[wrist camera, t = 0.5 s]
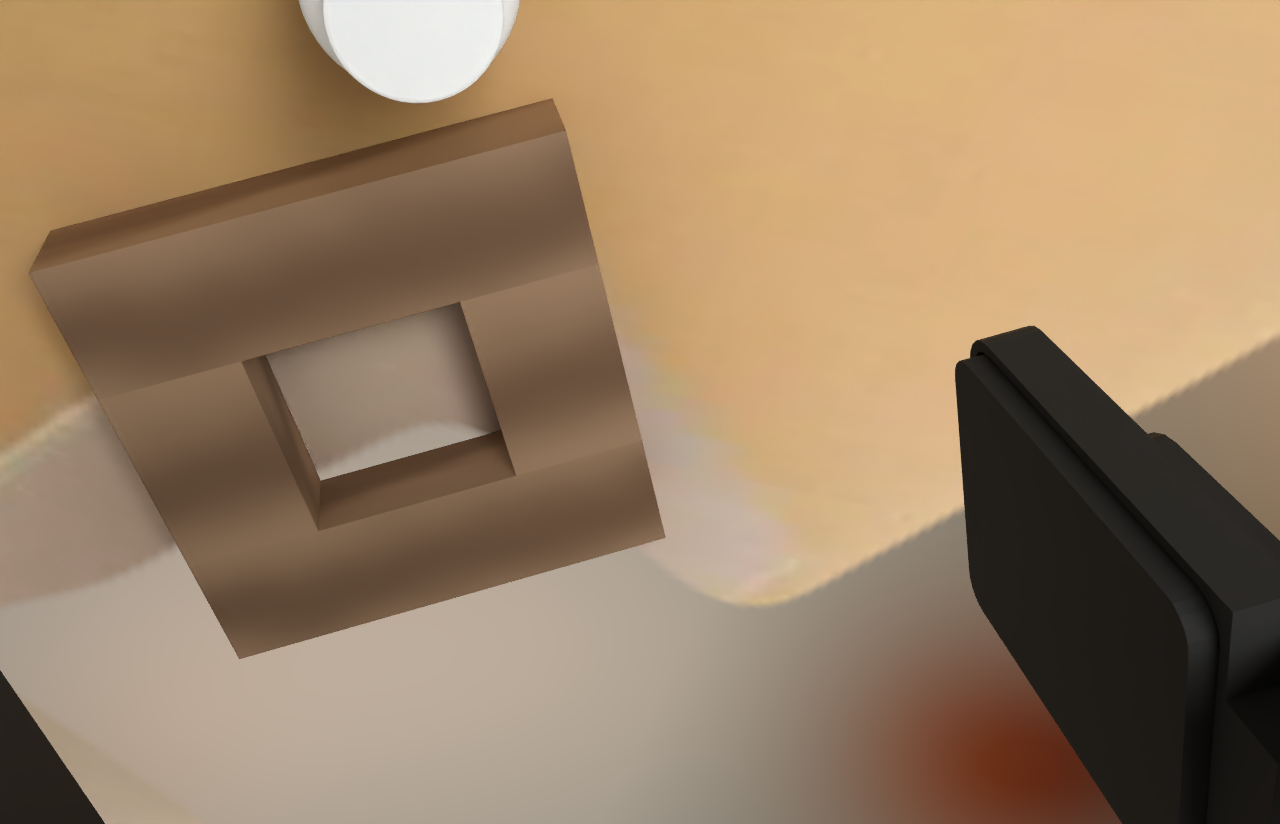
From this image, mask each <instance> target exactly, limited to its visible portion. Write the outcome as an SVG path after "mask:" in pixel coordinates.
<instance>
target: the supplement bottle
mask: <svg viewBox="0 0 1280 824" xmlns="http://www.w3.org/2000/svg"><path fill="white" fill-rule="evenodd" d="M299 4H300V7H301V10H302V13H303V16H304V18H305V20H306V23H307V25H308V27H309V29H310V31H311V32H312V34H313V35H314V37H315V39H316V40H317V42H318V43H319V44H320V46H321V47H322V48H323V49H324V51H325V52H326V53H327V54H328V55H329V56H330V57H331V58H332V59H333V60H334V61H335V62H336V63H337V64H338V65H340V66H341V67H342V68H343V69H345V70H346V71H347V72H348V73H349V74H350V75H351V76H352V77H354V78H355V79H356V80H357V81H358V82H359V83H360V84H362V85H363V86H365V87H366V88H368V89H369V90H371V91H373V92H375V93H377V94H379V95H381V96H383V97H386V98H389V99H392V100H396V101H400V102H406V103H428V102H434V101H440V100H443V99H446V98H449V97H451V96H454V95H456V94H458V93H460V92H462V91H463V90H465V89H466V88H468V87H469V86H471V85H472V84H473V83H474V82H475V81H477V80H478V79H479V77H480V76H481V75H482V74H483V73H484V72H485V71H486V70H487V68H488V67H489V65H490V64H491V62H492V61H493V59H494V58H495V57H496V55H497V54H498V53H499V51H500V50H501V48H502V47H503V45H504V44H505V42H506V41H507V39H508V37H509V35H510V33H511V31H512V28H513V25H514V22H515V19H516V16H517V13H518V9H519V4H520V0H299Z"/></svg>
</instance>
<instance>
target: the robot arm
mask: <svg viewBox="0 0 1280 824" xmlns="http://www.w3.org/2000/svg"><path fill="white" fill-rule="evenodd" d="M955 381H956V395H957V409H958V422H959V436H960V450H961V464H962V477H963V491H964V505H965V519H966V533H967V546H968V560H969V572H970V579H971V583H972V587H973V590H974V593H975V596H976V598H977V601H978V603H979V605H980V607H981V609H982V610H983V612H984V614H985V615H986V617H987V618H988V620H989V621H990V623H991V624H992V626H993V627H994V629H995V630H996V632H997V634H998V635H999V637H1000V638H1001V640H1002V641H1003V643H1004V644H1005V646H1006V647H1007V649H1008V650H1009V652H1010V653H1011V655H1012V656H1013V658H1014V659H1015V661H1016V662H1017V664H1018V666H1019V667H1020V669H1021V670H1022V672H1023V673H1024V675H1025V676H1026V678H1027V679H1028V681H1029V682H1030V684H1031V685H1032V686H1033V688H1034V690H1035V691H1036V693H1037V694H1038V696H1039V698H1040V699H1041V701H1042V702H1043V704H1044V705H1045V707H1046V708H1047V710H1048V711H1049V713H1050V714H1051V716H1052V717H1053V719H1054V720H1055V722H1056V723H1057V725H1058V726H1059V728H1060V730H1061V731H1062V733H1063V734H1064V736H1065V737H1066V739H1067V740H1068V742H1069V743H1070V745H1071V746H1072V748H1073V749H1074V751H1075V752H1076V754H1077V755H1078V757H1079V759H1080V760H1081V761H1082V763H1083V765H1084V766H1085V768H1086V769H1087V771H1088V772H1089V774H1090V775H1091V777H1092V778H1093V780H1094V781H1095V783H1096V784H1097V786H1098V787H1099V789H1100V791H1101V792H1102V794H1103V795H1104V797H1105V798H1106V800H1107V801H1108V803H1109V804H1110V806H1111V807H1112V809H1113V810H1114V812H1115V813H1116V815H1117V816H1118V818H1119V819H1120V821H1121V822H1122V824H1280V541H1279V540H1278V539H1277V538H1276V537H1275V536H1274V535H1273V534H1272V533H1271V532H1270V531H1269V530H1268V529H1267V528H1266V527H1264V526H1263V525H1262V524H1261V523H1260V522H1259V521H1258V520H1257V519H1256V518H1255V517H1254V516H1253V515H1252V514H1251V513H1250V512H1248V510H1247V509H1245V508H1244V507H1243V506H1242V505H1241V504H1240V503H1239V502H1238V501H1237V500H1236V499H1235V498H1234V497H1233V496H1232V495H1231V494H1230V493H1229V492H1228V491H1226V490H1225V489H1224V488H1223V487H1222V486H1221V485H1220V484H1219V483H1218V482H1217V481H1216V480H1215V479H1214V478H1213V477H1212V476H1211V475H1210V474H1209V473H1208V472H1207V471H1206V470H1204V469H1203V468H1202V467H1201V466H1200V465H1199V464H1198V463H1197V462H1196V461H1195V460H1194V459H1193V458H1192V457H1191V456H1190V455H1189V454H1188V453H1186V452H1185V451H1184V450H1183V449H1182V448H1181V447H1180V446H1179V445H1178V444H1177V443H1176V442H1174V441H1173V440H1172V439H1170V438H1169V437H1167V436H1166V435H1164V434H1159V433H1150V434H1147V433H1146V432H1145V431H1144V430H1143V429H1142V428H1141V427H1140V426H1139V425H1138V424H1137V423H1136V422H1134V420H1133V419H1132V418H1130V417H1129V416H1128V415H1127V414H1126V413H1125V412H1124V411H1123V410H1122V409H1121V408H1120V407H1119V406H1118V405H1117V404H1116V403H1115V402H1114V401H1113V400H1112V399H1111V398H1110V397H1109V396H1108V395H1107V394H1106V393H1105V392H1104V391H1103V390H1102V389H1101V388H1100V387H1099V386H1098V385H1097V384H1096V383H1095V382H1093V381H1092V380H1091V379H1090V378H1089V377H1088V376H1087V375H1086V374H1085V373H1084V372H1083V371H1082V370H1081V369H1080V368H1079V367H1078V366H1077V365H1076V364H1075V363H1074V362H1073V361H1072V360H1071V359H1070V358H1069V357H1068V356H1067V355H1066V354H1065V353H1064V352H1063V351H1062V350H1061V349H1060V348H1059V347H1058V346H1057V345H1055V344H1054V343H1053V342H1052V341H1051V340H1050V339H1049V338H1048V337H1047V336H1046V335H1045V334H1044V333H1043V332H1042V331H1041V330H1040V329H1038V328H1037V327H1035V326H1027V327H1023V328H1020V329H1016V330H1013V331H1009V332H1005V333H1002V334H998V335H995V336H991V337H988V338H984V339H980V340H977V341H975V342H974V343H973V344H972V348H971V352H970V358H969V359H965V360H962V361H959V362H958V363H957V364H956V368H955ZM0 824H105V823H104V821H103V820H102V818H101V817H100V816H99V814H98V813H97V811H96V810H95V808H94V807H93V805H92V804H91V802H90V801H89V799H88V798H87V796H86V795H85V794H84V792H83V791H82V789H81V788H80V786H79V785H78V783H77V782H76V780H75V779H74V777H73V776H72V775H71V773H70V772H69V770H68V769H67V767H66V766H65V764H64V763H63V761H62V760H61V758H60V757H59V756H58V754H57V753H56V751H55V750H54V748H53V747H52V745H51V744H50V742H49V741H48V739H47V738H46V737H45V735H44V734H43V732H42V731H41V729H40V728H39V726H38V725H37V723H36V722H35V720H34V719H33V717H32V716H31V715H30V713H29V712H28V710H27V709H26V707H25V706H24V704H23V703H22V701H21V700H20V698H19V697H18V696H17V694H16V693H15V691H14V690H13V688H12V687H11V685H10V684H9V682H8V681H7V679H6V678H5V677H4V675H3V674H2V672H1V671H0Z"/></svg>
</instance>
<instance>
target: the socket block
mask: <svg viewBox="0 0 1280 824" xmlns="http://www.w3.org/2000/svg"><path fill="white" fill-rule="evenodd" d="M29 275H30V277H31V279H32V280H33V282H34V284H35V286H36V288H37V290H38V291H39V293H40V295H41V297H42V299H43V300H44V302H45V304H46V306H47V308H48V310H49V311H50V313H51V315H52V317H53V319H54V321H55V322H56V324H57V326H58V328H59V330H60V332H61V333H62V335H63V337H64V339H65V341H66V343H67V344H68V346H69V348H70V350H71V352H72V354H73V355H74V357H75V359H76V361H77V363H78V365H79V366H80V368H81V370H82V372H83V374H84V376H85V377H86V379H87V381H88V383H89V385H90V387H91V388H92V390H93V392H94V394H95V396H96V398H97V399H98V401H99V403H100V405H101V407H102V409H103V410H104V412H105V414H106V416H107V418H108V420H109V421H110V423H111V425H112V427H113V429H114V430H115V432H116V434H117V436H118V438H119V440H120V441H121V443H122V445H123V447H124V449H125V451H126V452H127V454H128V456H129V458H130V460H131V462H132V463H133V465H134V467H135V469H136V471H137V473H138V474H139V476H140V478H141V480H142V482H143V484H144V485H145V487H146V489H147V491H148V493H149V495H150V496H151V498H152V500H153V502H154V504H155V506H156V507H157V509H158V511H159V513H160V515H161V517H162V518H163V520H164V522H165V524H166V526H167V528H168V529H169V531H170V533H171V535H172V537H173V539H174V540H175V542H176V544H177V546H178V548H179V550H180V551H181V553H182V555H183V556H184V559H185V560H186V562H187V564H188V566H189V568H190V570H191V571H192V573H193V575H194V577H195V579H196V581H197V582H198V584H199V586H200V588H201V590H202V591H203V593H204V595H205V597H206V599H207V601H208V603H209V604H210V606H211V608H212V610H213V612H214V614H215V615H216V617H217V619H218V621H219V622H220V625H221V626H222V628H223V630H224V632H225V634H226V635H227V637H228V639H229V641H230V643H231V645H232V647H233V648H234V650H235V652H236V654H237V656H238V657H239V659H241V658H245V657H248V656H252V655H255V654H259V653H262V652H266V651H269V650H272V649H276V648H280V647H283V646H287V645H290V644H294V643H297V642H301V641H304V640H308V639H311V638H315V637H319V636H322V635H326V634H329V633H333V632H336V631H340V630H343V629H347V628H350V627H353V626H357V625H360V624H364V623H368V622H371V621H375V620H378V619H382V618H385V617H388V616H392V615H396V614H399V613H403V612H406V611H410V610H413V609H416V608H420V607H424V606H427V605H431V604H434V603H438V602H441V601H445V600H449V599H452V598H456V597H459V596H463V595H466V594H469V593H473V592H476V591H480V590H483V589H487V588H491V587H494V586H498V585H501V584H505V583H508V582H511V581H515V580H519V579H522V578H526V577H529V576H533V575H536V574H540V573H543V572H547V571H550V570H554V569H557V568H560V567H564V566H568V565H571V564H575V563H579V562H581V561H585V560H589V559H593V558H596V557H599V556H603V555H606V554H610V553H614V552H617V551H621V550H624V549H628V548H631V547H635V546H638V545H642V544H645V543H649V542H652V541H656V540H659V539H663V538H665V534H664V530H663V526H662V522H661V517H660V513H659V509H658V505H657V501H656V497H655V493H654V489H653V485H652V481H651V477H650V473H649V468H648V464H647V460H646V456H645V452H644V448H643V444H642V440H641V436H640V432H639V428H638V424H637V419H636V415H635V411H634V407H633V403H632V399H631V395H630V391H629V387H628V383H627V379H626V375H625V370H624V366H623V362H622V358H621V354H620V350H619V346H618V342H617V338H616V334H615V330H614V326H613V321H612V317H611V313H610V309H609V305H608V301H607V297H606V293H605V289H604V285H603V281H602V277H601V272H600V268H599V264H598V260H597V256H596V252H595V248H594V244H593V240H592V236H591V232H590V228H589V223H588V219H587V215H586V211H585V207H584V203H583V199H582V195H581V191H580V187H579V183H578V179H577V174H576V170H575V166H574V162H573V158H572V154H571V150H570V146H569V142H568V138H567V134H566V130H565V128H564V125H563V123H562V120H561V118H560V116H559V113H558V111H557V108H556V106H555V104H554V101H553V99H549V100H545V101H541V102H537V103H534V104H530V105H526V106H522V107H518V108H515V109H511V110H507V111H503V112H499V113H496V114H492V115H488V116H484V117H481V118H477V119H473V120H469V121H465V122H462V123H458V124H454V125H450V126H446V127H443V128H439V129H435V130H431V131H428V132H424V133H420V134H416V135H412V136H409V137H405V138H401V139H397V140H393V141H390V142H386V143H382V144H378V145H375V146H371V147H367V148H363V149H359V150H356V151H352V152H348V153H344V154H340V155H337V156H333V157H329V158H325V159H322V160H318V161H314V162H310V163H306V164H303V165H299V166H295V167H291V168H287V169H284V170H280V171H276V172H272V173H268V174H265V175H261V176H257V177H253V178H250V179H246V180H242V181H238V182H234V183H231V184H227V185H223V186H219V187H215V188H212V189H208V190H204V191H200V192H197V193H193V194H189V195H185V196H181V197H178V198H174V199H170V200H166V201H162V202H159V203H155V204H151V205H147V206H144V207H140V208H136V209H132V210H128V211H125V212H121V213H117V214H113V215H109V216H106V217H102V218H98V219H94V220H91V221H87V222H83V223H79V224H75V225H72V226H68V227H64V228H60V229H56V230H53V231H50V233H49V235H48V237H47V239H46V241H45V243H44V245H43V246H42V248H41V250H40V252H39V254H38V256H37V258H36V260H35V262H34V264H33V266H32V268H31V270H30V272H29ZM458 302H460V304H461V307H462V310H463V313H464V316H465V319H466V322H467V325H468V328H469V332H470V335H471V338H472V341H473V344H474V347H475V350H476V353H477V356H478V359H479V362H480V365H481V369H482V372H483V375H484V378H485V381H486V384H487V387H488V390H489V393H490V396H491V399H492V403H493V406H494V409H495V412H496V415H497V418H498V421H499V424H500V427H501V430H502V431H498V432H495V433H491V434H487V435H484V436H480V437H477V438H473V439H469V440H466V441H463V442H459V443H455V444H451V445H448V446H444V447H441V448H437V449H434V450H430V451H427V452H423V453H419V454H415V455H412V456H408V457H405V458H401V459H397V460H394V461H390V462H387V463H383V464H380V465H376V466H373V467H369V468H366V469H362V470H358V471H355V472H351V473H347V474H343V475H340V476H336V477H333V478H329V479H326V480H322V481H320V478H319V476H318V474H317V472H316V469H315V467H314V465H313V463H312V460H311V458H310V456H309V453H308V451H307V449H306V447H305V444H304V442H303V440H302V438H301V435H300V433H299V431H298V429H297V426H296V424H295V422H294V419H293V417H292V415H291V413H290V410H289V408H288V406H287V404H286V401H285V399H284V397H283V394H282V392H281V390H280V388H279V385H278V383H277V381H276V379H275V376H274V374H273V372H272V370H271V367H270V365H269V363H268V360H267V358H266V356H265V355H267V354H270V353H274V352H278V351H281V350H285V349H289V348H292V347H296V346H300V345H303V344H307V343H311V342H314V341H318V340H322V339H325V338H329V337H333V336H336V335H340V334H344V333H347V332H351V331H355V330H358V329H362V328H366V327H370V326H373V325H377V324H381V323H384V322H388V321H392V320H395V319H399V318H403V317H406V316H410V315H414V314H417V313H421V312H425V311H428V310H432V309H436V308H439V307H443V306H447V305H450V304H454V303H458Z"/></svg>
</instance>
